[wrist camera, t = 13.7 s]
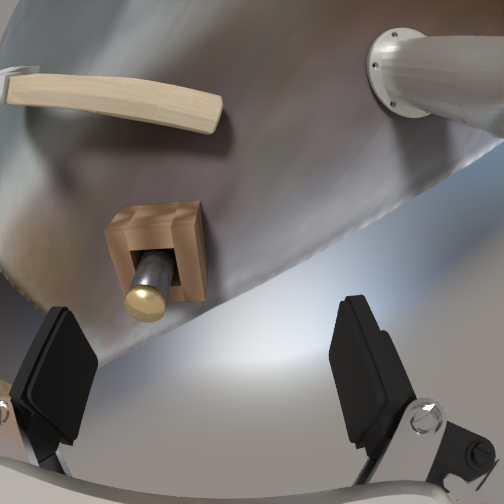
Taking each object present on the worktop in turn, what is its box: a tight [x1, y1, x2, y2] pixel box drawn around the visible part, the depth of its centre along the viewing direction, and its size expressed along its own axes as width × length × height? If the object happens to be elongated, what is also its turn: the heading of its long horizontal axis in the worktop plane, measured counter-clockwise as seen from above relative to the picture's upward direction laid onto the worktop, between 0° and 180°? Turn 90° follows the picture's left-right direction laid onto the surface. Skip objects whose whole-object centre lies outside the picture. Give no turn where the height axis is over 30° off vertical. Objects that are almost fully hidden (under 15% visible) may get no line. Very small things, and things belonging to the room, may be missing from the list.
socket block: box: [104, 201, 208, 302], centre depth 39 cm, size 11×11×7 cm
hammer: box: [0, 66, 223, 135], centre depth 25 cm, size 16×5×30 cm
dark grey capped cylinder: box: [124, 248, 176, 322], centre depth 36 cm, size 4×4×14 cm
